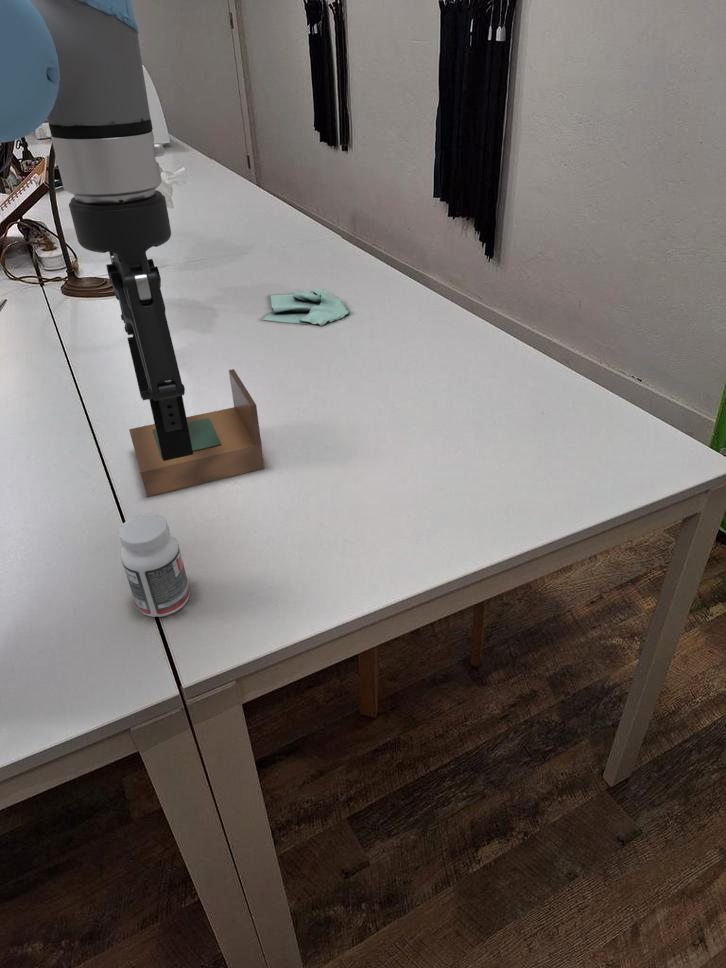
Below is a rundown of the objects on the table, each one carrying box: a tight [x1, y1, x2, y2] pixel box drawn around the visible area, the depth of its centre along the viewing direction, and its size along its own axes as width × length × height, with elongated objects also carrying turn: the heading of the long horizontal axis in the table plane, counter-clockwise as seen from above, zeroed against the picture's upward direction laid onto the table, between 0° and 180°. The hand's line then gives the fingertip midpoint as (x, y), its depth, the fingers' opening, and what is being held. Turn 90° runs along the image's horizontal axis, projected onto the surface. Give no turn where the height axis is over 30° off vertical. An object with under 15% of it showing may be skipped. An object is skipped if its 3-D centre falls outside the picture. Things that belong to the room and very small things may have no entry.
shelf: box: [128, 368, 265, 498], centre depth 90 cm, size 16×12×10 cm
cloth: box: [262, 287, 350, 327], centre depth 142 cm, size 20×22×2 cm
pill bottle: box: [118, 513, 191, 618], centre depth 67 cm, size 6×6×10 cm
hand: (165, 423), depth 65 cm, fingers open, 13 cm apart
